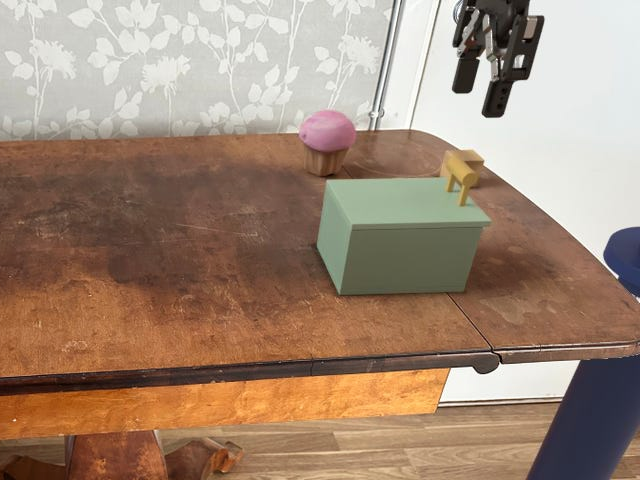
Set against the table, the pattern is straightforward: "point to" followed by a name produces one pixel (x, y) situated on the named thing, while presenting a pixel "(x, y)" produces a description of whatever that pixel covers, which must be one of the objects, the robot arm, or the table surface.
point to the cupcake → (326, 141)
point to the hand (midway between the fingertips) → (475, 104)
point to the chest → (394, 256)
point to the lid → (410, 201)
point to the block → (468, 157)
